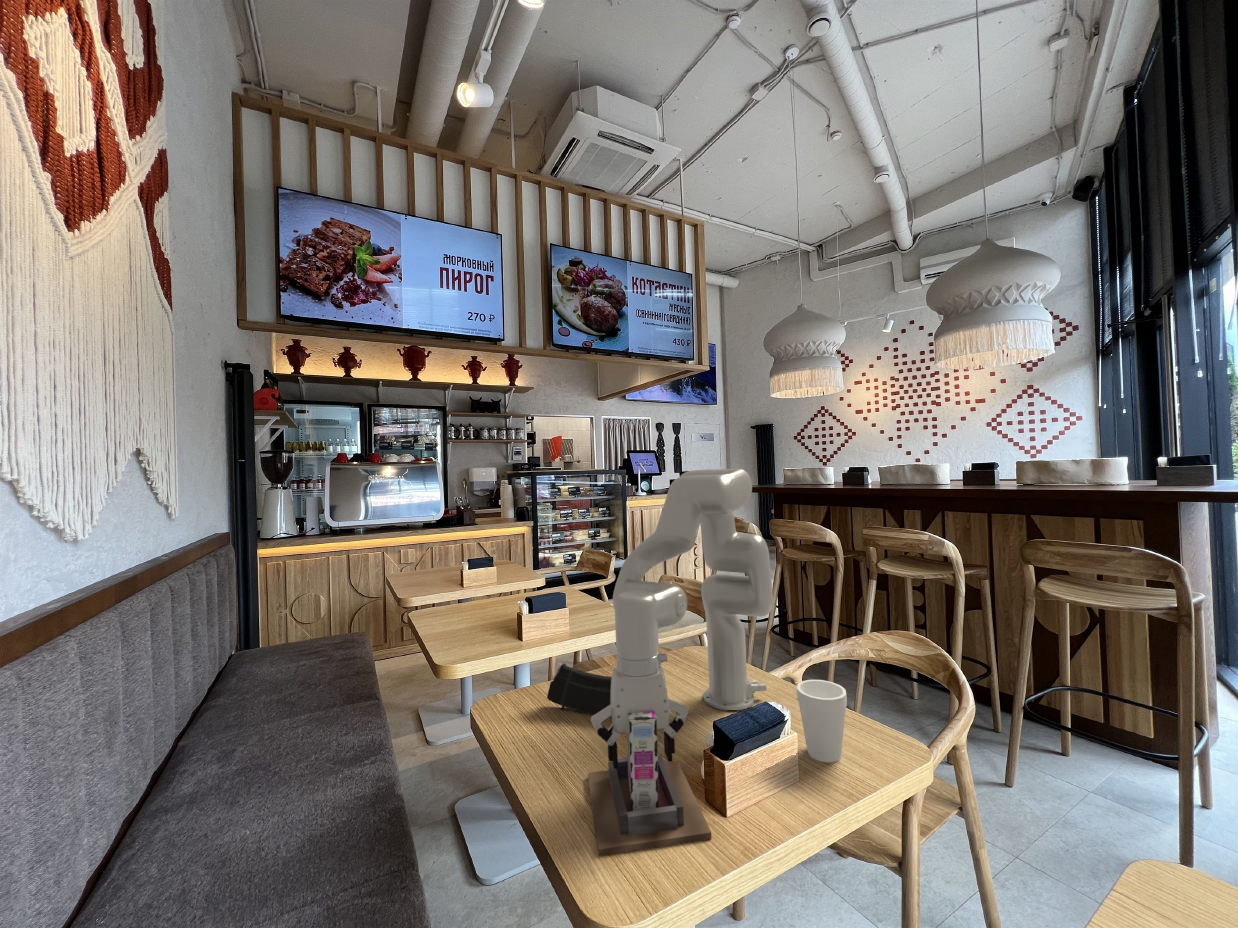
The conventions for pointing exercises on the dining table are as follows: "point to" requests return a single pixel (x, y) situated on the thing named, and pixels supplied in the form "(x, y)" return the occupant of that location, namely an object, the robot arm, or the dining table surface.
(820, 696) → the foam cup
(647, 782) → the candy bar box
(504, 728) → the dining table surface
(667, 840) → the end cap board
